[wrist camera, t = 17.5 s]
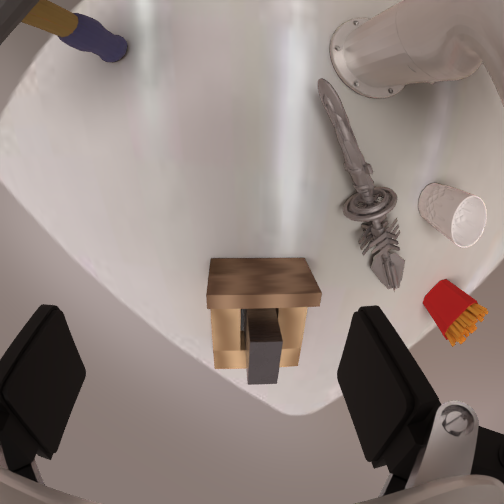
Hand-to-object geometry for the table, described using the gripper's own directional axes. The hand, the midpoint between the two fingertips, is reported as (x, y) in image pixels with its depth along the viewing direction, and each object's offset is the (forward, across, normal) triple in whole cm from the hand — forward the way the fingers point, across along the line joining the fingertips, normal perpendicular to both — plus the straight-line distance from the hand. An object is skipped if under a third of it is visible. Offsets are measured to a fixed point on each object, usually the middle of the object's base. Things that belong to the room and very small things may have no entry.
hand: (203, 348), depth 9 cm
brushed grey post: (+33, -5, +22) cm, 40 cm away
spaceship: (+34, -19, +3) cm, 39 cm away
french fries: (+34, -41, +21) cm, 57 cm away
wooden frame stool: (+33, -5, +22) cm, 40 cm away
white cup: (+34, -34, +3) cm, 48 cm away
